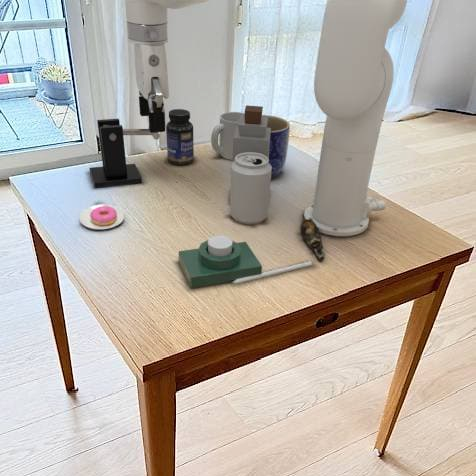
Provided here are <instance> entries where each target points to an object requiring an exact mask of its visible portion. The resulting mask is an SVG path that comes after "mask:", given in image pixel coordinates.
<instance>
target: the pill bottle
mask: <svg viewBox="0 0 476 476" xmlns="http://www.w3.org/2000/svg"><path fill="white" fill-rule="evenodd" d="M168 118H169V121H168V122H167V123H166V124H165V133H166V155H167V156H166V157H167V161H168V162H169V163H171V164H173V165H178V166H185V165H189V164H191V163H192V162H193V161H194V159H195V158H194V157H195V156H194V155H195V154H194V148H195V147H194V124H193V123H192V122H191V121H190V119H191V112H190V111H189V110H187V109H184V108H183V109H182V108H175V109H171V110H169V111H168Z"/></svg>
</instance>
